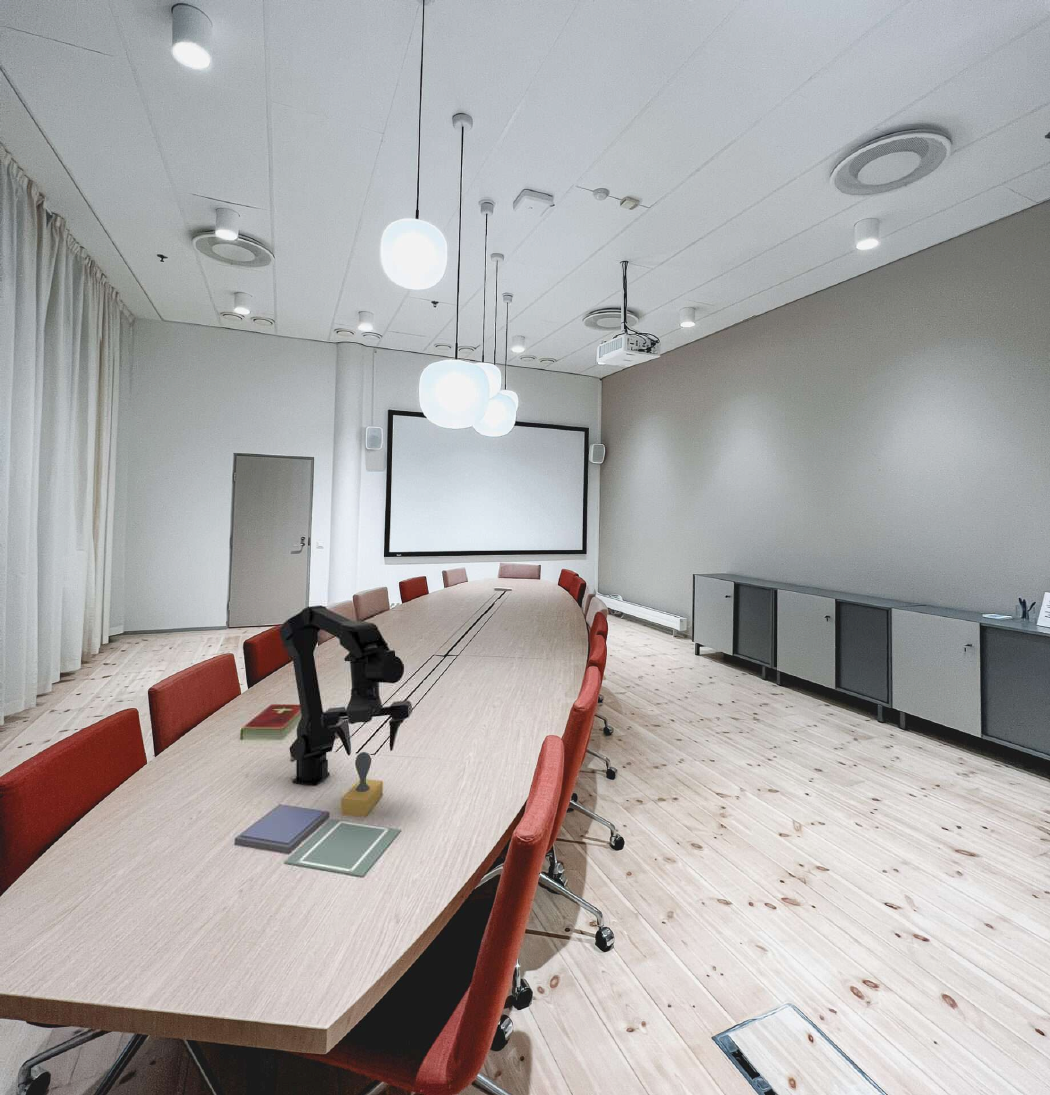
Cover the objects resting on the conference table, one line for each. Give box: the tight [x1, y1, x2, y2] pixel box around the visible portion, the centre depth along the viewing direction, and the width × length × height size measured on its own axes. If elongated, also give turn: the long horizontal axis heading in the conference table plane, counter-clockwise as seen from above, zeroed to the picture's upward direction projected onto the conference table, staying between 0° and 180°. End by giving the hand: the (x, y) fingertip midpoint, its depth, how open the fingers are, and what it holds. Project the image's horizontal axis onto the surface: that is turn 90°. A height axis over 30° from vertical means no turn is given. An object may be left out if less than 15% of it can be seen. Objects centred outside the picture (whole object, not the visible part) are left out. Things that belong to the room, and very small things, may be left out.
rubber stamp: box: [340, 751, 384, 818], centre depth 130 cm, size 10×6×12 cm, turn 172°
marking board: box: [283, 818, 402, 878], centre depth 113 cm, size 16×16×1 cm
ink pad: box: [234, 803, 330, 854], centre depth 119 cm, size 12×14×2 cm
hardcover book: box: [239, 703, 301, 741], centre depth 175 cm, size 12×21×4 cm, turn 2°
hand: (370, 752), depth 127 cm, fingers open, 9 cm apart
